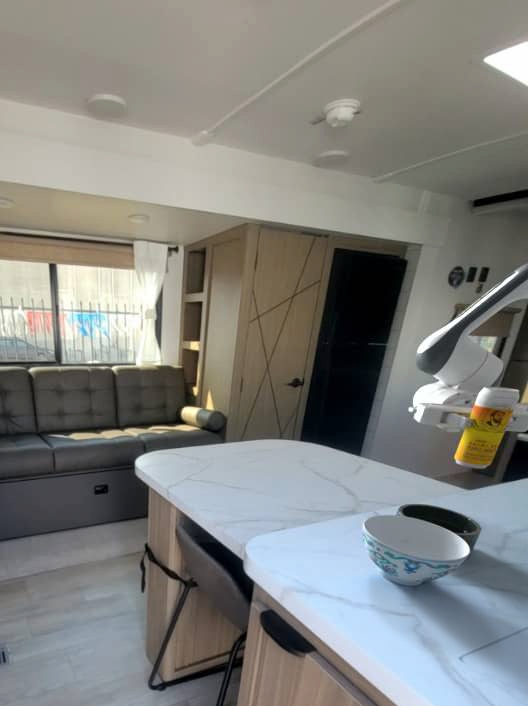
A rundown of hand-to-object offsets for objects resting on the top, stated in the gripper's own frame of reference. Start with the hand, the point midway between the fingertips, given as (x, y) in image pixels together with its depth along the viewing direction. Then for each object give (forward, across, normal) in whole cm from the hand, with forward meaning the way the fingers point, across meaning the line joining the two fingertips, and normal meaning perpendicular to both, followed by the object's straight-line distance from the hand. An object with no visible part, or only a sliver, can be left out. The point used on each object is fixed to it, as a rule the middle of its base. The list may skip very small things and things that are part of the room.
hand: (489, 425), depth 78 cm
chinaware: (+24, -18, +22) cm, 37 cm away
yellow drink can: (-1, 0, +8) cm, 9 cm away
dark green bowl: (+10, -8, +22) cm, 25 cm away
